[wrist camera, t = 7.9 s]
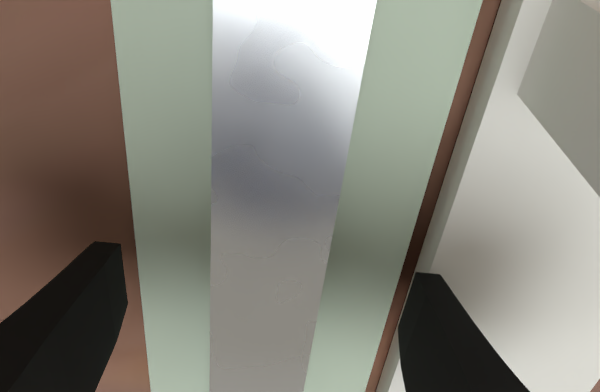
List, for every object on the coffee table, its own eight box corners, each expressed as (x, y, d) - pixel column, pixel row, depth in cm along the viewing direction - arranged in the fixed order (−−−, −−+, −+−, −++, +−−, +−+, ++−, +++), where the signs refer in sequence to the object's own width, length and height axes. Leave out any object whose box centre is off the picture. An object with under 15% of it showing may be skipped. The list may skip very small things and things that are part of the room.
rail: (218, 441, 18) (208, 505, 17) (236, -158, 8) (214, -158, 6) (284, 446, 19) (280, 511, 17) (382, -139, 8) (401, -134, 7)
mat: (157, 417, 18) (154, 427, 18) (104, -142, 9) (96, -142, 8) (348, 432, 19) (349, 443, 18) (502, -92, 9) (509, -90, 9)
